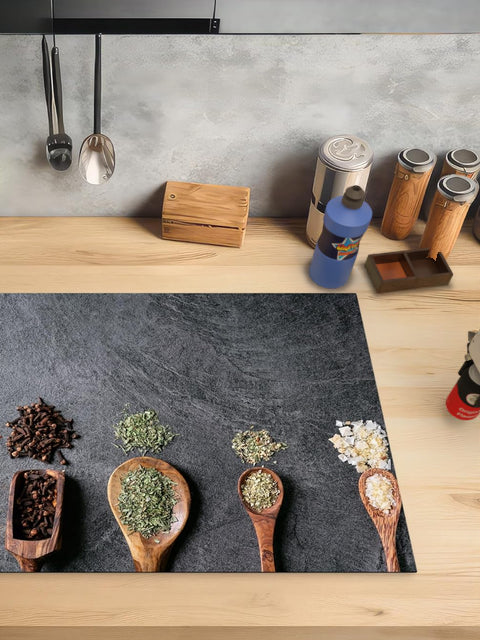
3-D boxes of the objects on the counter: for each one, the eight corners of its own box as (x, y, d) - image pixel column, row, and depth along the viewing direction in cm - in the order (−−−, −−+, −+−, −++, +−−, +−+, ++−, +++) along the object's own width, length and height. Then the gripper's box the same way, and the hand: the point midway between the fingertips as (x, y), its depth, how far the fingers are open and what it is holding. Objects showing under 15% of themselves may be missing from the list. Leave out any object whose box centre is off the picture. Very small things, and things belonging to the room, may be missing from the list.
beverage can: (436, 405, 142) (458, 370, 132) (459, 389, 144) (482, 354, 134) (462, 428, 139) (486, 394, 129) (484, 412, 140) (510, 377, 131)
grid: (433, 257, 169) (438, 246, 166) (447, 285, 164) (453, 274, 161) (364, 265, 168) (368, 254, 165) (376, 293, 163) (381, 282, 160)
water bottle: (356, 285, 164) (388, 200, 144) (316, 292, 163) (343, 207, 143) (340, 255, 170) (369, 169, 149) (302, 262, 169) (325, 176, 148)
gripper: (560, 370, 116) (514, 427, 131) (512, 288, 126) (473, 349, 141) (515, 376, 116) (473, 432, 130) (470, 293, 125) (436, 354, 140)
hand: (474, 388), depth 135 cm, fingers closed on beverage can, 6 cm apart
